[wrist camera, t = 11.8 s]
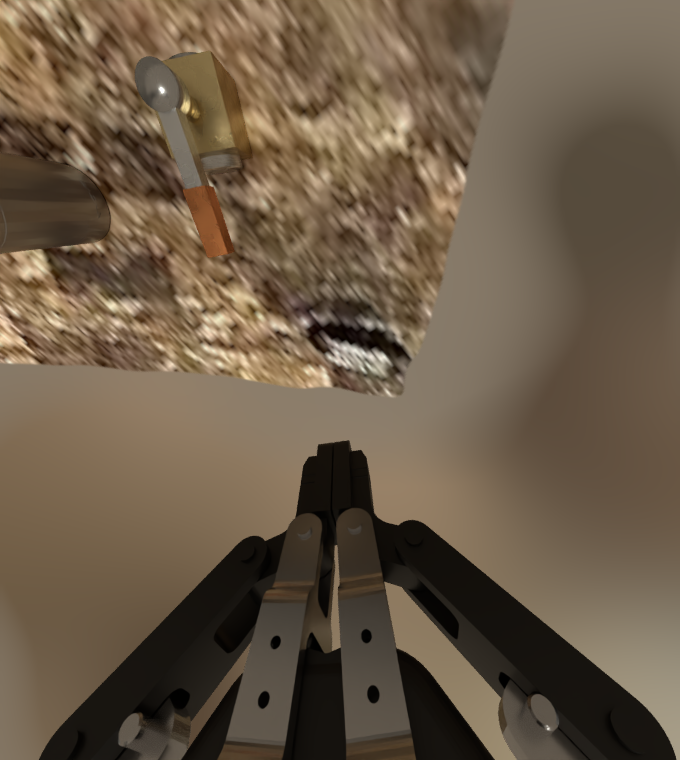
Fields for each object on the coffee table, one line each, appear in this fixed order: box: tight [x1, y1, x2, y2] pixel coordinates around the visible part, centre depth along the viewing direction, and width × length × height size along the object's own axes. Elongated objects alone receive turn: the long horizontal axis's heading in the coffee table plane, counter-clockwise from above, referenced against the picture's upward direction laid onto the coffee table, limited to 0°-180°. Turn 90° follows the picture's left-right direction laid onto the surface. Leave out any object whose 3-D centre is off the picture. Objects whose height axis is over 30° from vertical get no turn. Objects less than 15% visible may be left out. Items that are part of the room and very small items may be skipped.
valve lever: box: [135, 56, 235, 258], centre depth 27 cm, size 15×3×2 cm, turn 10°
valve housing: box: [155, 51, 253, 174], centre depth 30 cm, size 7×9×10 cm
